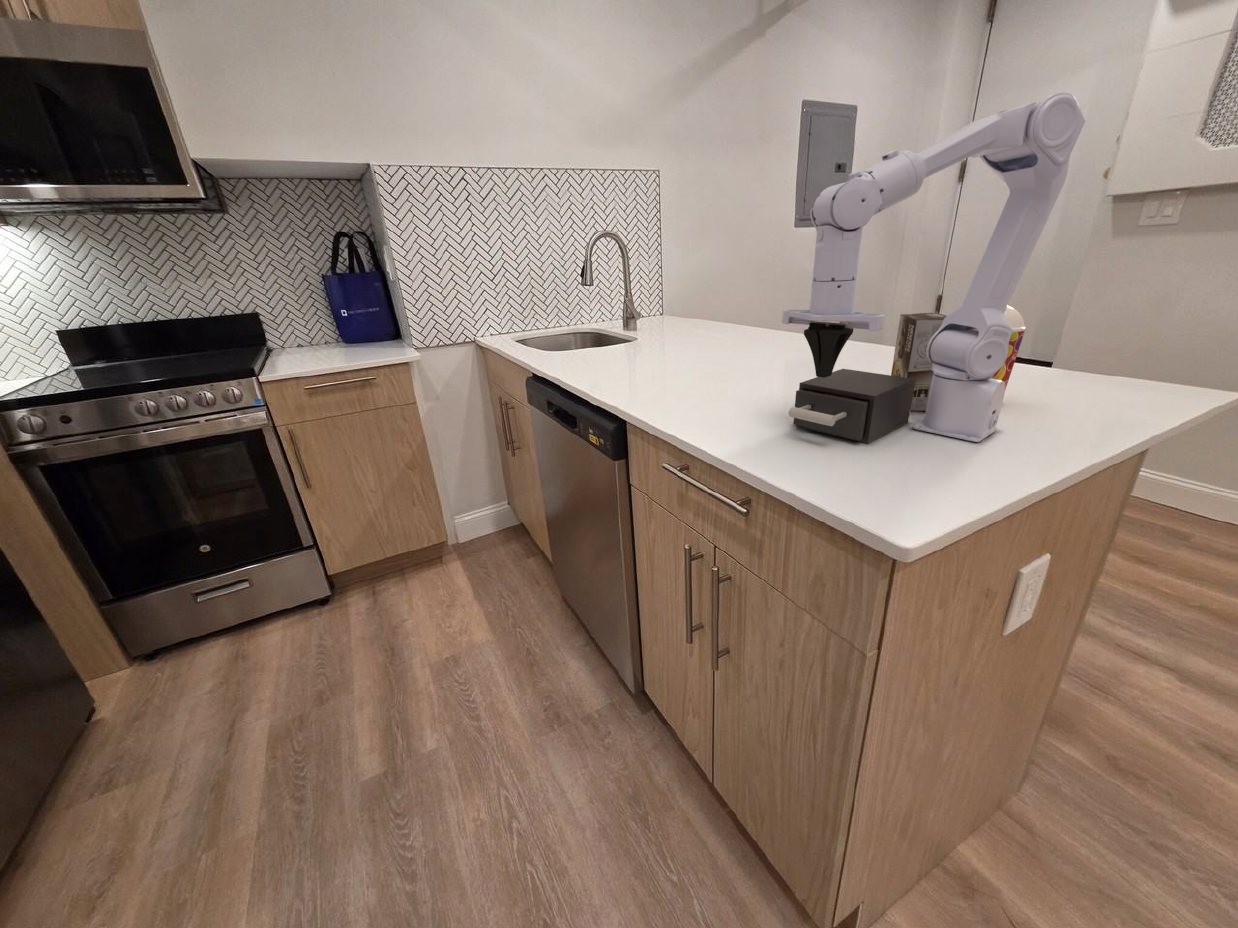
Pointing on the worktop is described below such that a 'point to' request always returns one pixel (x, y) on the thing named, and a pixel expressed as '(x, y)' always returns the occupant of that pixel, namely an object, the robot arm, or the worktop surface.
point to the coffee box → (916, 353)
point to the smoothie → (1011, 344)
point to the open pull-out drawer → (830, 413)
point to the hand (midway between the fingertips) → (823, 376)
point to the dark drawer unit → (870, 398)
